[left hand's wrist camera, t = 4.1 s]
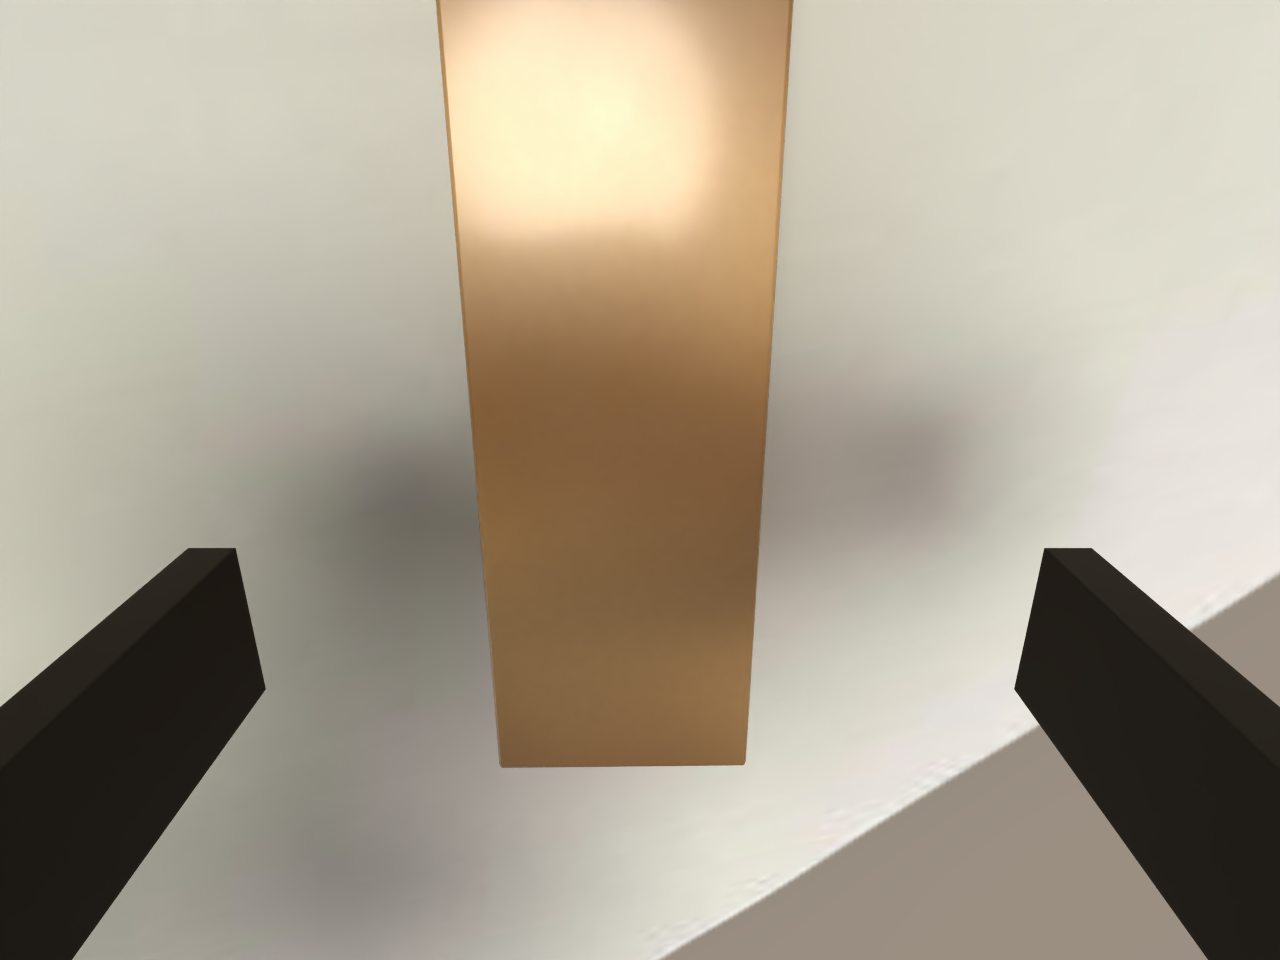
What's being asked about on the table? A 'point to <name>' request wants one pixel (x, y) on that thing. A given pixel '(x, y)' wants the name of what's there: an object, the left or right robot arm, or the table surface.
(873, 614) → the table surface
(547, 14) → the bar
